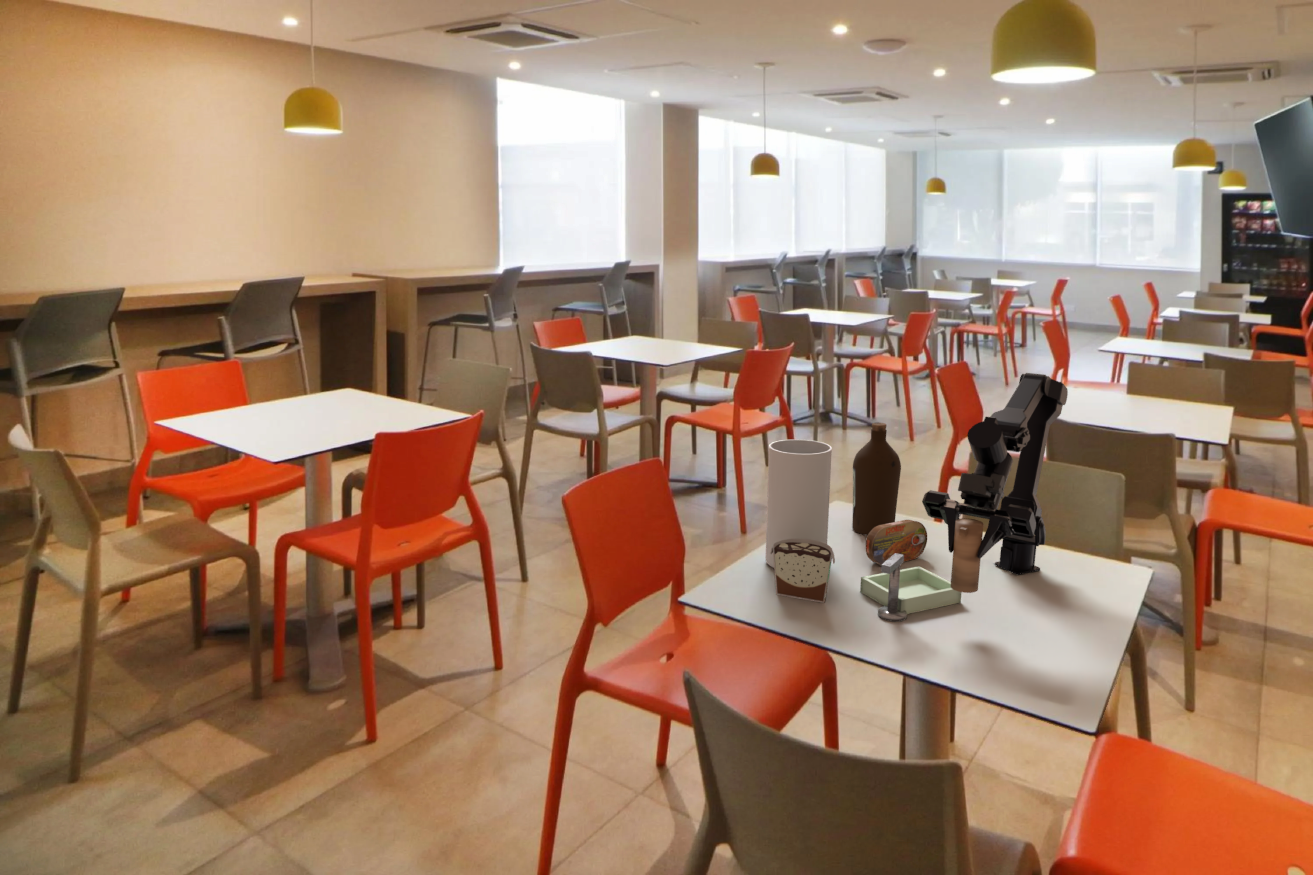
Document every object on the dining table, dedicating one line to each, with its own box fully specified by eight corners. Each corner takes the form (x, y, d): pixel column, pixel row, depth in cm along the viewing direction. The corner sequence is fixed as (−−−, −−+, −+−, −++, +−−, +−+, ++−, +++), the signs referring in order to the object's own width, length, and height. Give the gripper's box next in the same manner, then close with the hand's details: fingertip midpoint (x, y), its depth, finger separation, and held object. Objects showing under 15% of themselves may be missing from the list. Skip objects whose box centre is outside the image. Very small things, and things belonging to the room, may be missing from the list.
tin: (871, 569, 194) (873, 529, 192) (861, 564, 197) (863, 525, 195) (927, 557, 201) (930, 519, 199) (916, 552, 203) (919, 515, 201)
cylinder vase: (836, 571, 193) (842, 451, 187) (780, 577, 189) (784, 456, 183) (810, 550, 204) (814, 437, 198) (756, 556, 201) (759, 441, 195)
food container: (840, 592, 182) (842, 543, 179) (832, 604, 176) (834, 553, 174) (778, 582, 187) (780, 533, 184) (768, 593, 181) (770, 543, 179)
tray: (918, 580, 188) (919, 566, 187) (960, 602, 177) (961, 587, 176) (860, 591, 182) (861, 577, 181) (900, 615, 171) (901, 599, 171)
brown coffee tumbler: (955, 580, 169) (960, 516, 167) (981, 586, 167) (987, 521, 164) (944, 590, 165) (949, 525, 162) (970, 597, 162) (976, 530, 159)
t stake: (883, 607, 175) (887, 550, 172) (910, 614, 172) (914, 555, 169) (868, 622, 168) (872, 562, 166) (895, 628, 166) (899, 568, 163)
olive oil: (901, 526, 220) (908, 421, 214) (890, 540, 211) (897, 430, 205) (856, 520, 225) (862, 417, 219) (843, 533, 215) (849, 425, 210)
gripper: (929, 446, 169) (901, 521, 163) (1037, 462, 159) (1012, 543, 153) (942, 479, 177) (916, 551, 171) (1046, 496, 167) (1022, 574, 161)
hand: (964, 554), depth 164 cm, fingers closed on brown coffee tumbler, 5 cm apart
